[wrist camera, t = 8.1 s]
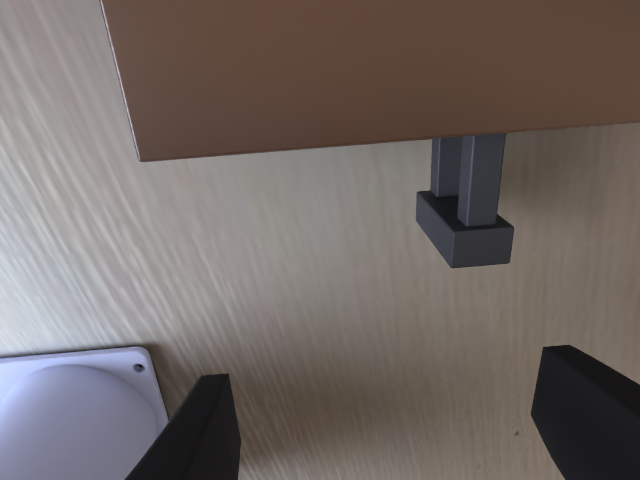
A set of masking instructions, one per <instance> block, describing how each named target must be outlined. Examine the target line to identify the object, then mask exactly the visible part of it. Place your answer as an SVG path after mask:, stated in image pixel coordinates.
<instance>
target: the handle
mask: <svg viewBox="0 0 640 480" xmlns="http://www.w3.org/2000/svg"><path fill="white" fill-rule="evenodd" d="M505 134H506V133H500V134H488V135H475V136H463V137H450V138H438V139H432V163H431V189H430V190H431V191H419V192H417V202H416V221H417V223H418V224H419V225H420V227H421V228H422V229H423V231H424V232H425V233H426V235H427V236H428V237H429V239H430V240H431V242H432V243H433V244H434V246H435V247H436V248H437V250H438V251H439V252H440V254H441V255H442V256H443V258H444V259H445V261H446V262H447V263H448V265H449V266H450V267H451V268H461V267H473V266H484V265H496V264H507V263H510V258H511V250H512V242H513V234H514V227H513V226H512V225H511V224H510V223H508V222H507V221H506V220H504V219H503V218H502V217H501V216H499V215H498V214H497V210H498V200H499V191H500V181H501V172H502V163H503V153H504V144H505Z"/></svg>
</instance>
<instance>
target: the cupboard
mask: <svg viewBox="0 0 640 480" xmlns="http://www.w3.org/2000/svg"><path fill="white" fill-rule="evenodd" d="M99 1H100V5H101V9H102V13H103V17H104V21H105V25H106V30H107V34H108V38H109V42H110V46H111V50H112V54H113V58H114V62H115V66H116V70H117V75H118V79H119V83H120V87H121V91H122V95H123V99H124V103H125V107H126V111H127V115H128V120H129V124H130V128H131V132H132V136H133V140H134V144H135V148H136V152H137V156H138V160H139V161H141V162H151V161H163V160H176V159H188V158H201V157H213V156H226V155H238V154H250V153H263V152H275V151H288V150H300V149H313V148H325V147H338V146H350V145H363V144H375V143H388V142H400V141H413V140H425V139H438V138H450V137H463V136H475V135H488V134H500V133H513V132H525V131H538V130H550V129H563V128H575V127H588V126H600V125H613V124H625V123H638V122H640V0H99Z"/></svg>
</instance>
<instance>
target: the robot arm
mask: <svg viewBox="0 0 640 480" xmlns="http://www.w3.org/2000/svg"><path fill="white" fill-rule="evenodd" d="M137 364H141V365H143V366H144V367H139V366H138V365H137ZM531 416H532V418H533V420H534V423H535V425H536V427H537V429H538V431H539V433H540V435H541V437H542V439H543V441H544V443H545V445H546V447H547V449H548V451H549V453H550V455H551V457H552V459H553V461H554V462H555V464H556V466H557V467H558V469H559V470H560V472H561V474H562V475H563V477H564V478H565V480H640V385H639V384H637V383H636V382H634V381H632V380H631V379H629V378H627V377H626V376H624V375H622V374H620V373H619V372H617V371H615V370H614V369H612V368H610V367H609V366H607V365H605V364H603V363H602V362H600V361H598V360H596V359H595V358H593V357H591V356H589V355H588V354H586V353H584V352H582V351H580V350H578V349H577V348H575V347H573V346H571V345H561V346H549V347H543V351H542V356H541V362H540V367H539V372H538V378H537V383H536V388H535V394H534V399H533V404H532V410H531ZM240 445H241V438H240V432H239V427H238V422H237V416H236V411H235V405H234V400H233V395H232V389H231V384H230V378H229V374H217V375H205V376H201V377H200V378H199V379H198V380H197V382H196V383H195V384H194V386H193V387H192V389H191V390H190V392H189V393H188V395H187V396H186V398H185V399H184V401H183V402H182V403H181V405H180V406H179V408H178V409H177V411H176V412H175V413H174V415H173V416H172V418H171V419H170V420H168V417H167V413H166V410H165V406H164V403H163V399H162V396H161V392H160V389H159V385H158V382H157V379H156V375H155V372H154V368H153V365H152V361H151V358H150V354H149V352H148V351H147V350H146V349H145V348H142V347H125V348H114V349H103V350H91V351H80V352H69V353H58V354H46V355H35V356H24V357H13V358H1V359H0V480H238V472H239V459H240Z"/></svg>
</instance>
